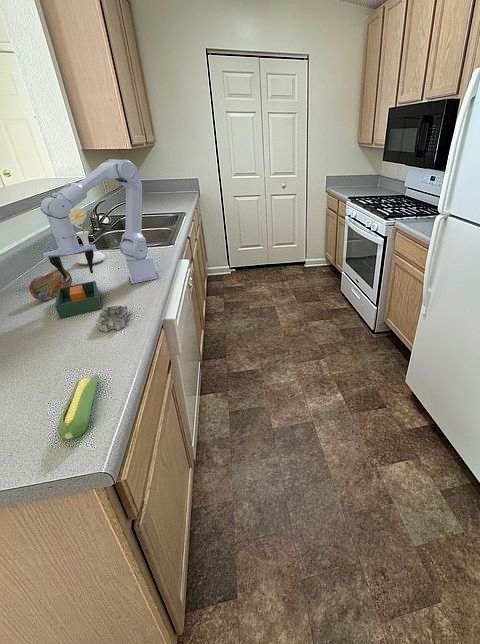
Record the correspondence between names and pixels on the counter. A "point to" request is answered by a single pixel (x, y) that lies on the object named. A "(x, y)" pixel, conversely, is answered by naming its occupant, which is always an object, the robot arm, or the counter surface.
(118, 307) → the grey stone
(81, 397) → the edible corn
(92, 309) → the bin
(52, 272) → the tin
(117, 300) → the counter surface
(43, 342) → the counter surface
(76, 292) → the orange block
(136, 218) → the robot arm
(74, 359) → the counter surface
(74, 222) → the flower in vase
